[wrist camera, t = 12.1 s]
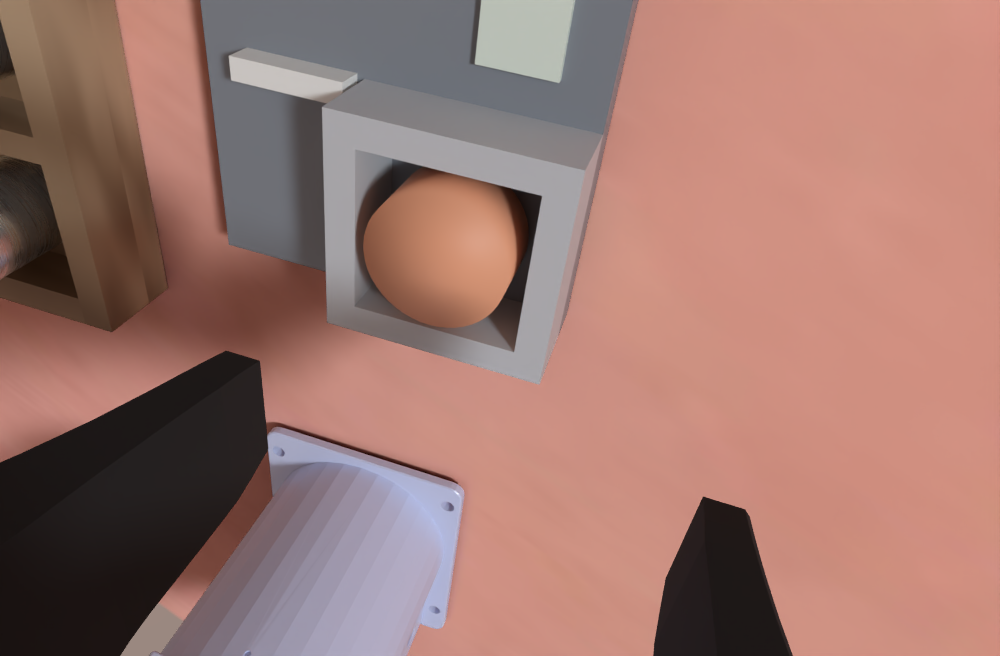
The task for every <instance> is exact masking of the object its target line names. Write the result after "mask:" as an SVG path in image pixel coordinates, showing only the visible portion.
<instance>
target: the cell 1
mask: <svg viewBox="0 0 1000 656" xmlns="http://www.w3.org/2000/svg"><path fill="white" fill-rule="evenodd" d="M13 75H16V74H15V70H14V66H13V63H12V59H11V56H10V52H9V49H8V45H7V41H6V38H5V34H4V31H3V27H2V24H1V20H0V79H3V78H6V77H9V76H13Z"/></svg>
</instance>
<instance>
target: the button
mask: <svg viewBox="0 0 1000 656" xmlns="http://www.w3.org/2000/svg"><path fill="white" fill-rule="evenodd" d="M528 240H529V227H528V222H527V217H526V214H525V211H524V209H523V207H522V205H521V202H520V201H519V199H518V198H517V196H516V194H515V193H514V192H513V191H512V189H511V188H508V187H504V186H500V185H496V184H492V183H488V182H484V181H480V180H476V179H472V178H468V177H464V176H460V175H456V174H452V173H448V172H444V171H440V170H436V169H432V168H428V167H424V166H423V167H421V168H420V169H418V170H417V171H415V172H414V173H413V174H412V175H411V176H410V177H409V178H408V179H407V180H406V181H405V182H404V183H403V184H402V185H401V186H400V187H399V188H398V189H397V190H396V191H395V192H394V193H393V194H392V195H391V196H390V197H389V198H388V199H387V200H386V201H385V202H384V203H383V204H382V205H381V206H380V207H379V208H378V209H377V211H376V212H375V213H374V214H373V215H372V217H371V219H370V220H369V222H368V225H367V227H366V230H365V234H364V241H363V251H364V258H365V263H366V266H367V269H368V272H369V274H370V276H371V278H372V280H373V282H374V283H375V285H376V287H377V288H378V289H379V291H380V292H381V293H382V295H383V296H384V297H385V298H386V299H387V300H388V301H389V302H390V303H391V304H392V305H393V306H394V307H396V308H397V309H398V310H400V311H401V312H402V313H404V314H406V315H407V316H409V317H411V318H413V319H415V320H417V321H419V322H422V323H425V324H428V325H432V326H436V327H444V328H457V327H464V326H468V325H472V324H474V323H477V322H479V321H481V320H482V319H484V318H486V317H487V316H488V315H489V314H491V313H492V312H493V311H494V309H495V308H496V307H497V306H498V304H499V303H500V301H501V299H502V298H503V296H504V294H505V292H506V290H507V288H508V286H509V285H510V283H511V281H512V279H513V277H514V275H515V273H516V272H517V270H518V268H519V266H520V264H521V262H522V260H523V258H524V256H525V254H526V251H527V247H528Z"/></svg>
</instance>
